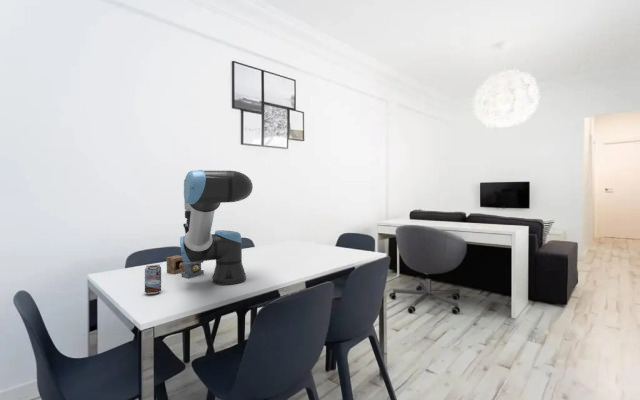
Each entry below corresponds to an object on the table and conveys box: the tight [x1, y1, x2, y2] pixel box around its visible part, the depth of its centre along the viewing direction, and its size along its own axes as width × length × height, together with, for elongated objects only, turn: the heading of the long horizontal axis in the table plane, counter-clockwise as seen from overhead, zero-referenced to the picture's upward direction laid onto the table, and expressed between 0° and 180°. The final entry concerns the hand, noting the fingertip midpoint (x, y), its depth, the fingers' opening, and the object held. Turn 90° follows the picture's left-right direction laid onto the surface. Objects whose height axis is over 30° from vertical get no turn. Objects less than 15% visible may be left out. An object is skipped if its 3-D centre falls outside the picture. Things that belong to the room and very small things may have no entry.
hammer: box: [179, 262, 199, 272], centre depth 165 cm, size 12×4×10 cm, turn 58°
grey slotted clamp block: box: [181, 261, 205, 280], centre depth 164 cm, size 5×9×7 cm, turn 148°
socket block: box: [165, 254, 184, 275], centre depth 171 cm, size 6×6×8 cm
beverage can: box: [144, 263, 162, 295], centre depth 137 cm, size 6×7×12 cm
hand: (194, 257), depth 163 cm, fingers closed
